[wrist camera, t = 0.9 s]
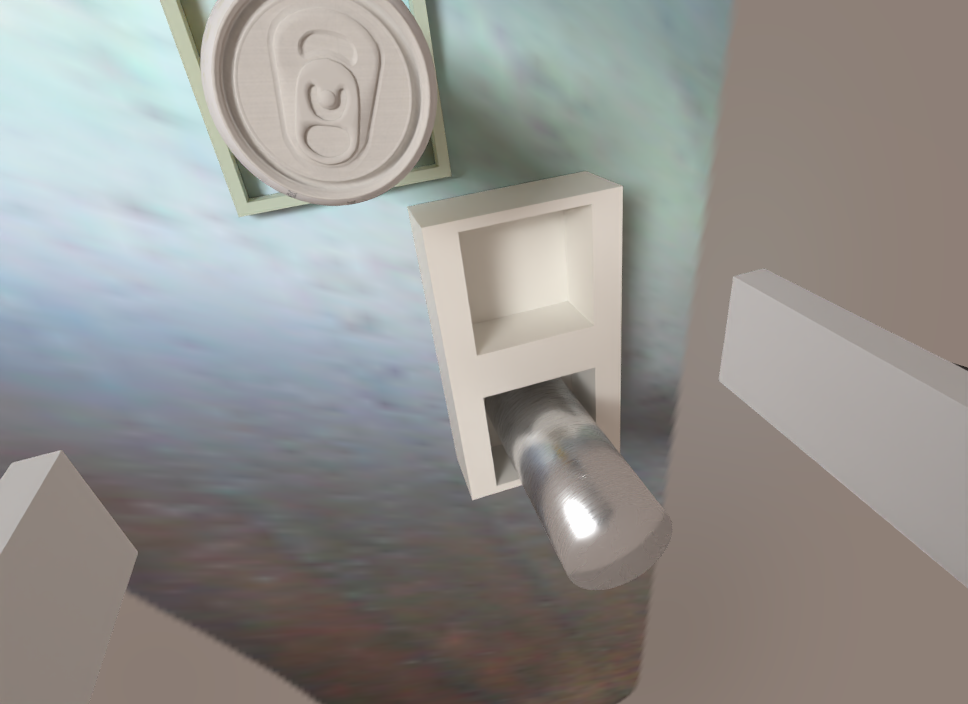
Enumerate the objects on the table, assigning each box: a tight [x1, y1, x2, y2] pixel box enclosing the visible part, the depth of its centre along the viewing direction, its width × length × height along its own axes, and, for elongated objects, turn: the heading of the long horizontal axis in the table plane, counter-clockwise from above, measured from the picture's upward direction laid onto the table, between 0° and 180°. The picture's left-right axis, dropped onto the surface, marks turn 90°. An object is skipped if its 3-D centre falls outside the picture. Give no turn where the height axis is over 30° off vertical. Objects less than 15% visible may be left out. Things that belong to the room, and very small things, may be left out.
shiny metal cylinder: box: [485, 377, 672, 590], centre depth 32 cm, size 6×6×14 cm
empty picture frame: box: [160, 0, 452, 217], centre depth 26 cm, size 11×11×1 cm
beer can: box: [200, 0, 437, 206], centre depth 20 cm, size 6×6×15 cm
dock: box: [407, 171, 623, 500], centre depth 34 cm, size 19×11×4 cm, turn 7°
